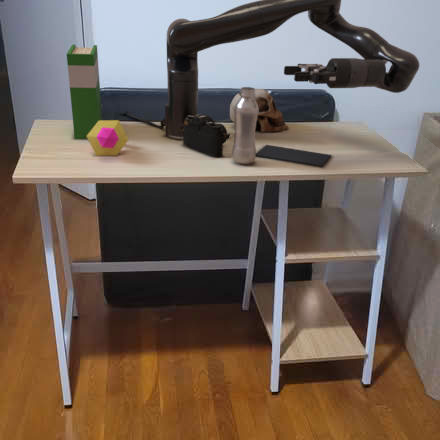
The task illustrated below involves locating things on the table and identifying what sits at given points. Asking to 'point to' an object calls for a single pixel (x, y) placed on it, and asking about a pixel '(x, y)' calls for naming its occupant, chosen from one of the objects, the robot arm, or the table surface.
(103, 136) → the toy
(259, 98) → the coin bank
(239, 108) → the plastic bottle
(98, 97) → the hardback book
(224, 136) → the film camera
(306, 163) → the mat
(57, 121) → the table surface
